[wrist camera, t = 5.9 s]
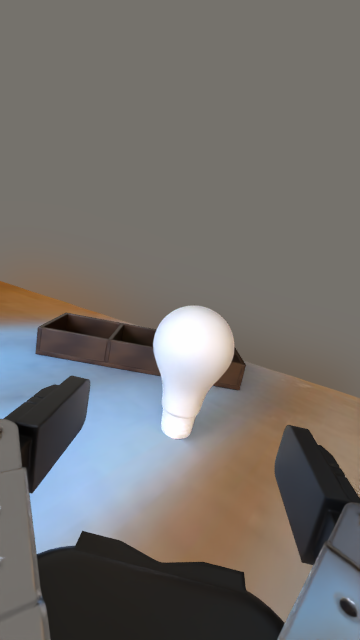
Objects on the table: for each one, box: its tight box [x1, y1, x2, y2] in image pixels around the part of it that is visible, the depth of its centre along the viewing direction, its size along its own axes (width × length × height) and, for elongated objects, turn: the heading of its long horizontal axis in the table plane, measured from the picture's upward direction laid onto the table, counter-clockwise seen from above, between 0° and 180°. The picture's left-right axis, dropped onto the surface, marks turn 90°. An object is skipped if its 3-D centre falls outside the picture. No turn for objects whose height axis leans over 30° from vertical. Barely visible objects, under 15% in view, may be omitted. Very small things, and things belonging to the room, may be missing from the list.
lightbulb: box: [153, 306, 234, 439], centre depth 22 cm, size 6×6×11 cm
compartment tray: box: [36, 313, 246, 390], centre depth 38 cm, size 25×8×3 cm, turn 90°
